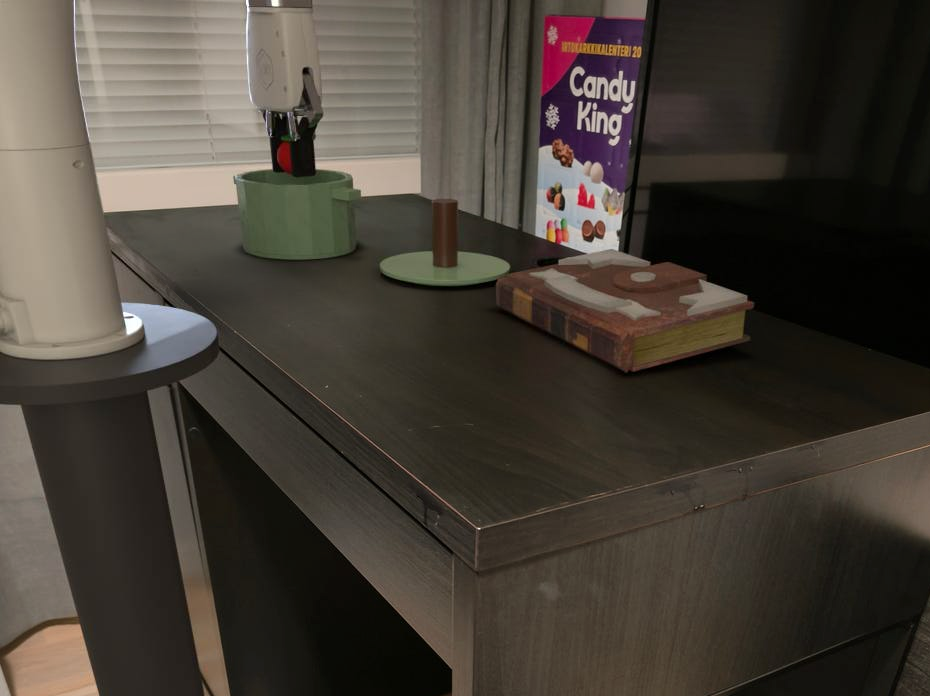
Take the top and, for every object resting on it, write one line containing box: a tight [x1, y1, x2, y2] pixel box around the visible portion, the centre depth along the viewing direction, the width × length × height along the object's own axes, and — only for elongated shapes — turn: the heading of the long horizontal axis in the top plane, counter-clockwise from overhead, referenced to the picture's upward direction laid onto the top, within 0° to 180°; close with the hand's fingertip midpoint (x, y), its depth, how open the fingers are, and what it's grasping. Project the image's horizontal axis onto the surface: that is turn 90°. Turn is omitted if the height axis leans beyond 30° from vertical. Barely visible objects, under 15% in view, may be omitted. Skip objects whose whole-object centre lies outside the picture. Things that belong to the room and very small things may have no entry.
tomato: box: [277, 127, 293, 175], centre depth 115 cm, size 4×4×5 cm
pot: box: [232, 168, 362, 261], centre depth 119 cm, size 15×20×8 cm
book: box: [495, 248, 755, 374], centre depth 90 cm, size 23×16×5 cm
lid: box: [379, 198, 511, 287], centre depth 108 cm, size 16×16×8 cm
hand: (294, 172), depth 116 cm, fingers closed on tomato, 3 cm apart
